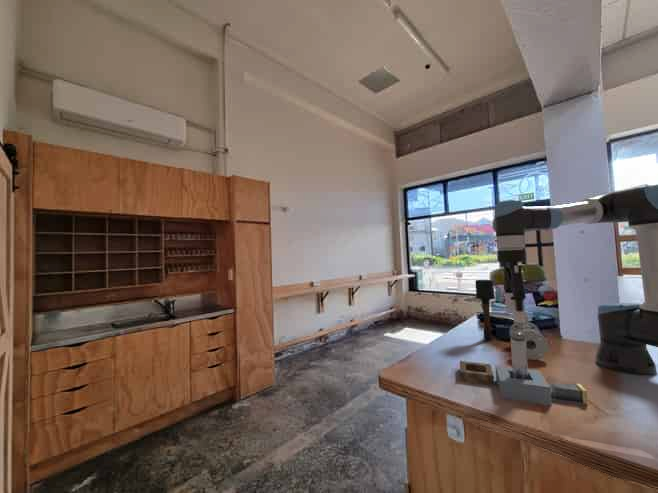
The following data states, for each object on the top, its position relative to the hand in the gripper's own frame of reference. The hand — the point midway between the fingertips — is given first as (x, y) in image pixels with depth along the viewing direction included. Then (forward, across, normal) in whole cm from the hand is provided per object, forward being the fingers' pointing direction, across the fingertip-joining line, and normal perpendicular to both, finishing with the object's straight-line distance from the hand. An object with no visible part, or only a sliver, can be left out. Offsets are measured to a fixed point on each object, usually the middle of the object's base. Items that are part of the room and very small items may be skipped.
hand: (515, 317), depth 85 cm
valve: (+24, -44, +10) cm, 51 cm away
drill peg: (+23, 0, 0) cm, 23 cm away
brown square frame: (+24, -7, -12) cm, 28 cm away
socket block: (+24, 0, +4) cm, 24 cm away
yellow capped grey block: (+24, 0, +12) cm, 26 cm away
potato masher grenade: (+24, -56, -4) cm, 61 cm away
